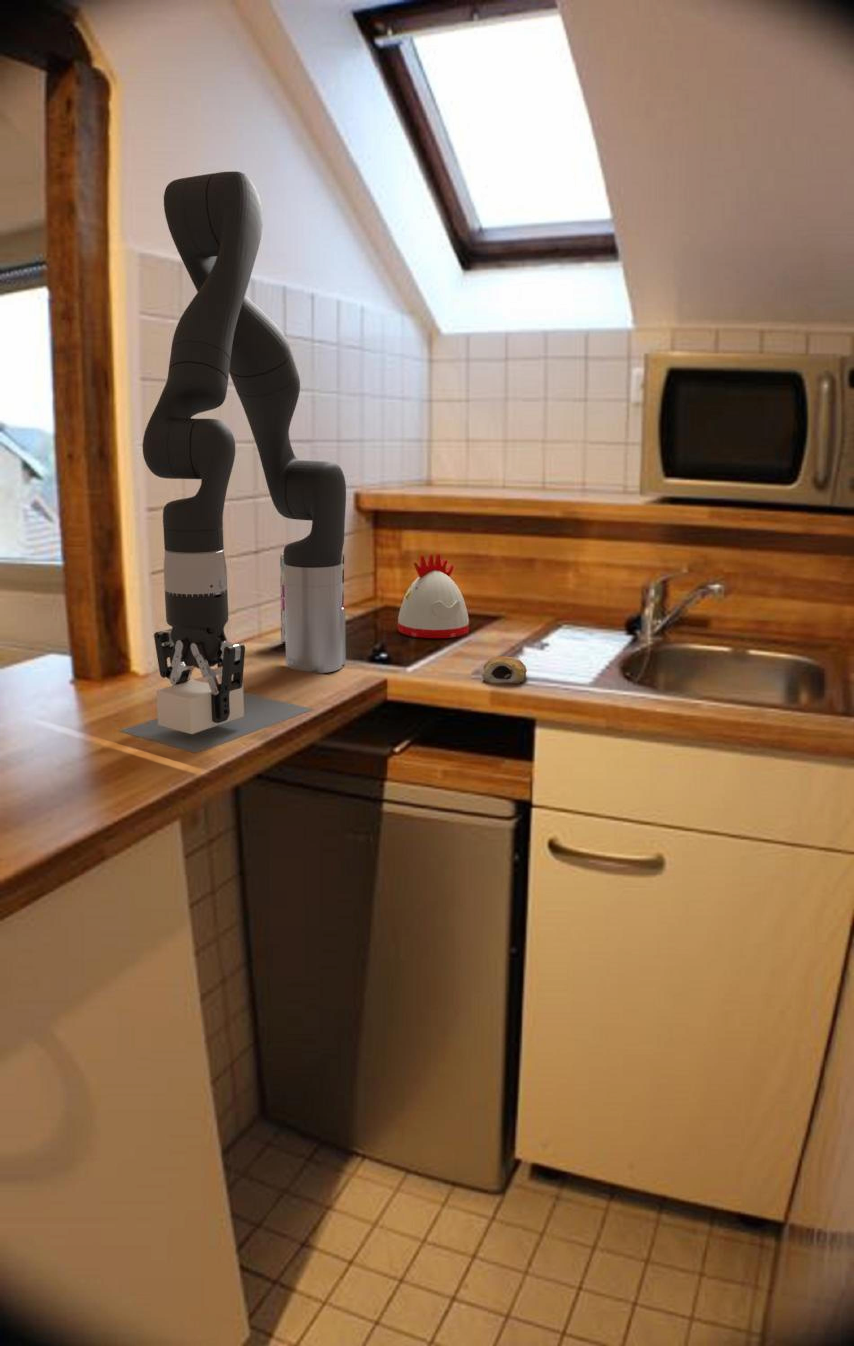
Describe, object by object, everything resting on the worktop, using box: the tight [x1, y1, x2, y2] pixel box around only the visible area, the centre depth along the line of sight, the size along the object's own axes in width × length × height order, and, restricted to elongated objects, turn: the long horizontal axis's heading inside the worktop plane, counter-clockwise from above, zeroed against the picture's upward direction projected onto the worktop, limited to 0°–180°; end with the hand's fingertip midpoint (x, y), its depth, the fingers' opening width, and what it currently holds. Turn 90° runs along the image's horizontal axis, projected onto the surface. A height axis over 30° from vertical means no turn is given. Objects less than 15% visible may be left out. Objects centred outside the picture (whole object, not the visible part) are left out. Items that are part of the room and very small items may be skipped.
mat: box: [118, 692, 315, 754], centre depth 125 cm, size 22×14×1 cm, turn 147°
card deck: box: [155, 676, 244, 734], centre depth 119 cm, size 6×9×4 cm, turn 147°
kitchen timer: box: [397, 553, 470, 639], centre depth 181 cm, size 14×14×15 cm
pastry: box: [481, 655, 528, 685], centre depth 150 cm, size 9×7×4 cm
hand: (201, 716), depth 119 cm, fingers closed on card deck, 6 cm apart
